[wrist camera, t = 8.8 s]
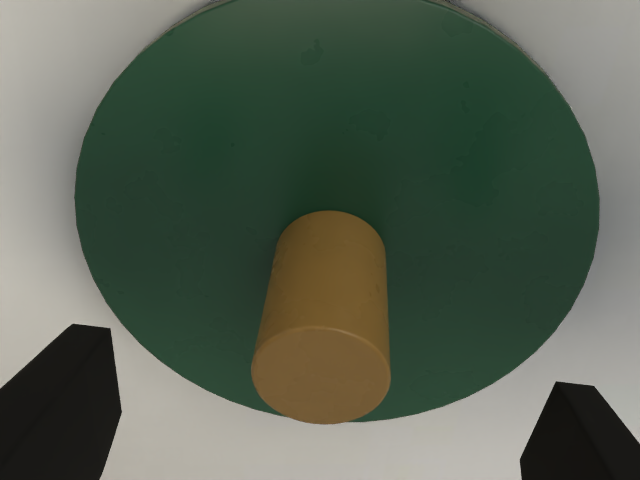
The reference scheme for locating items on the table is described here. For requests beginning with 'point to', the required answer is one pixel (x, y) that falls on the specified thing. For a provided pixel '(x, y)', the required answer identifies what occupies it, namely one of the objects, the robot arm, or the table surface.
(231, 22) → the tin lid
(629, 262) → the table surface
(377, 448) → the table surface
